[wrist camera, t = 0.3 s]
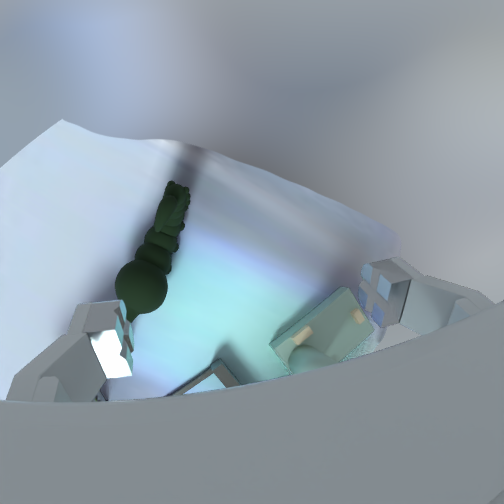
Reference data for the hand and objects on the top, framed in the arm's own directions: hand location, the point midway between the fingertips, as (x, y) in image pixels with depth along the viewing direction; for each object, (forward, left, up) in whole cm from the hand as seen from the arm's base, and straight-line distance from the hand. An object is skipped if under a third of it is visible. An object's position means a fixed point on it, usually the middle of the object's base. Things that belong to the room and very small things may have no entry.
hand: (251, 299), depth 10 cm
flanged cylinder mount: (-27, -13, -53) cm, 61 cm away
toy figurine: (+6, +5, -53) cm, 54 cm away
